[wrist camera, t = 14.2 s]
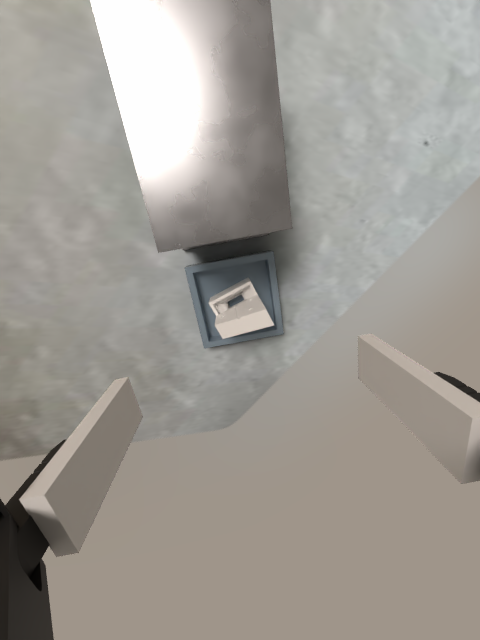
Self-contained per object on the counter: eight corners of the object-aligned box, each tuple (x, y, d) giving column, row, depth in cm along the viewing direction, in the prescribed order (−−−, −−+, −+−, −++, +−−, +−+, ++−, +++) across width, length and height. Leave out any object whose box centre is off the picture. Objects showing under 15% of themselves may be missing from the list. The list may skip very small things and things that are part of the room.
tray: (205, 341, 35) (204, 348, 33) (187, 265, 32) (184, 267, 29) (279, 328, 35) (283, 334, 33) (270, 250, 32) (273, 251, 29)
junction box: (183, 250, 31) (156, 255, 19) (145, 86, 26) (72, -53, 14) (268, 234, 31) (294, 230, 19) (246, 67, 26) (265, -89, 13)
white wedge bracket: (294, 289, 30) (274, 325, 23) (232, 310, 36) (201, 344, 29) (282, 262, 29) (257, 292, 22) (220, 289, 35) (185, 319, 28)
